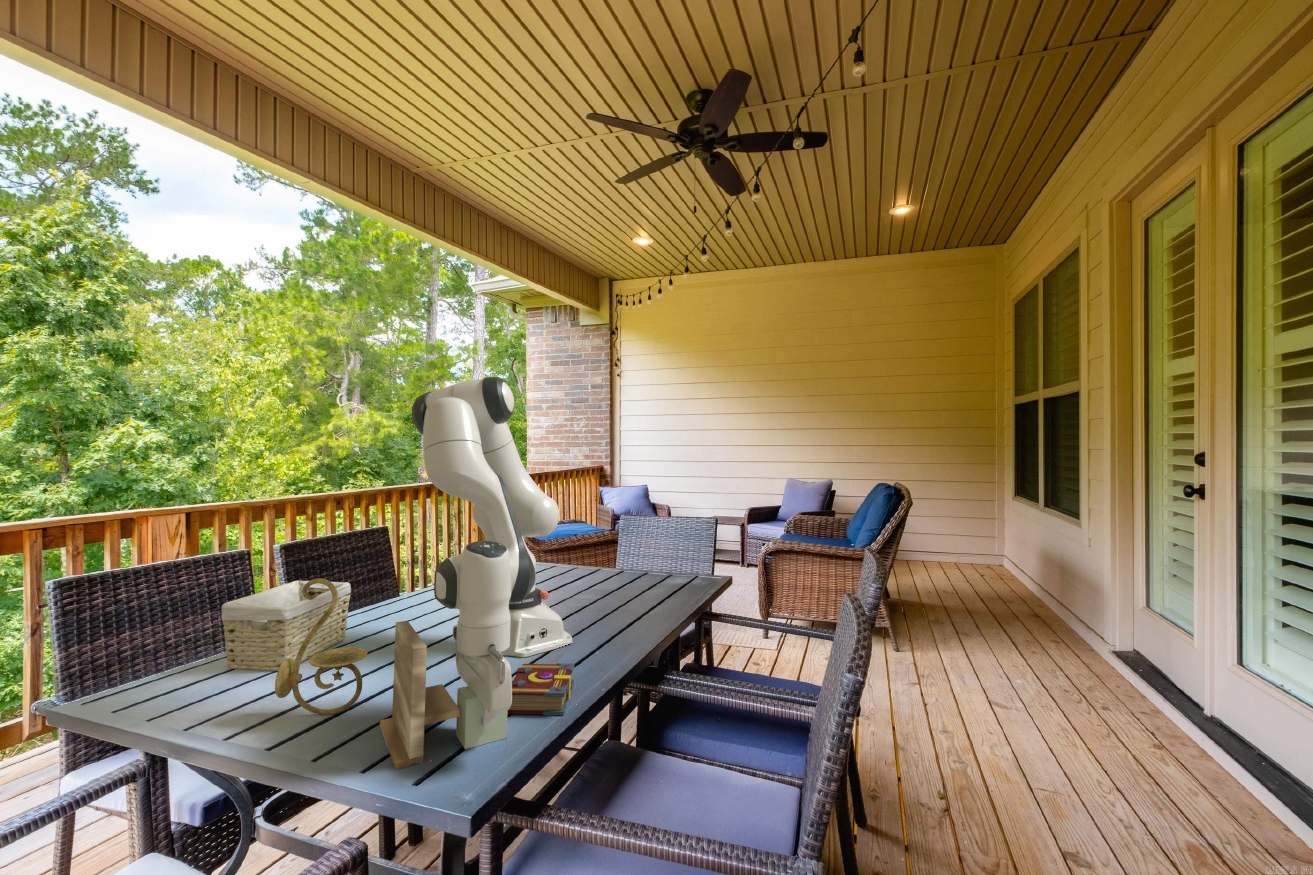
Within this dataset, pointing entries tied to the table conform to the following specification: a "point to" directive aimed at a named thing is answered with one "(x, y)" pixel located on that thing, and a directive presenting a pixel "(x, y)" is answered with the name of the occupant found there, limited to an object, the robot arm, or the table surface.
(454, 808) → the table surface
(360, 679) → the wall sconce
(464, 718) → the sage cabinet
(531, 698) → the decorative book
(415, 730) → the wall board
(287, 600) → the storage basket
